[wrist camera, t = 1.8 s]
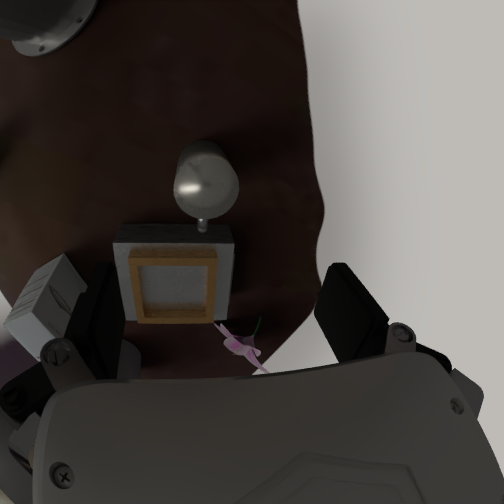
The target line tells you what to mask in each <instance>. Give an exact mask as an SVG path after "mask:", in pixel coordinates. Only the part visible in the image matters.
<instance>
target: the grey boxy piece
mask: <svg viewBox="0 0 504 504" xmlns="http://www.w3.org/2000/svg"><path fill="white" fill-rule="evenodd" d="M234 245H235V243H234V240H233V237H232V234H231V230H230V227H229V225H217V224H208V229H207V231H206V232H204V233H201V232H199V231H198V229H197V224H121V226H120V228H119V230H118V232H117V234H116V236H115V239H114V241H113V249H114V257H115V264H116V267H117V273H118V279H119V285H120V290H121V296H122V301H123V306H124V311H125V317H126V320H137V321H138V323H158V324H184V323H213V322H214V320H226V319H227V309H228V304H229V303H230V294H231V285H232V276H233V267H234V258H235V253H234Z"/></svg>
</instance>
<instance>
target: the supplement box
mask: <svg viewBox="0 0 504 504" xmlns="http://www.w3.org/2000/svg"><path fill="white" fill-rule="evenodd" d="M87 287H88V286H87V285H86V283H85V282H84V281H83V279H82V278H81V277H80V275H79V274H78V273H77V271H76V270H75V268H74V267H73V265H72V264H71V262H70V261H69V259H68V258H67V256H66V255H65V253H64V254H62V255H60V256H59V257H57V258H55V259H54V260H52V261H50V262H48V263H47V264H45V265H43V266H42V267H40V268H38V269H37V270H36V271H35V272H34V274H33V275H32V277H31V278H30V280H29V281H28V283H27V284H26V286H25V288H24V289H23V291H22V293H21V294H20V296H19V298H18V299H17V301H16V303H15V305H14V306H13V308H12V310H11V312H10V314H9V315H8V317H7V319H6V321H5V322H4V324H3V325H4V327H5V328H6V329H7V330H8V331H9V332H10V333H11V334H12V335H13V336H14V337H15V338H16V340H17V341H19V343H21V345H22V346H23V347H24V348H25V349H27V351H28V352H29V353H30V354H31V355H32V356H34V357H35V358H36V359H37V360H38V361H41V360H40V351H41V349H42V347H43V346H44V345H45V343H47V342H48V341H49V340H52V339H54V338H63V337H64V334H65V331H66V328H67V325H68V322H69V320H70V317H71V314H72V312H73V309H74V306H75V304H76V301H77V299H78V296H79V294H80V293H81V292H86V289H87Z"/></svg>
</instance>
